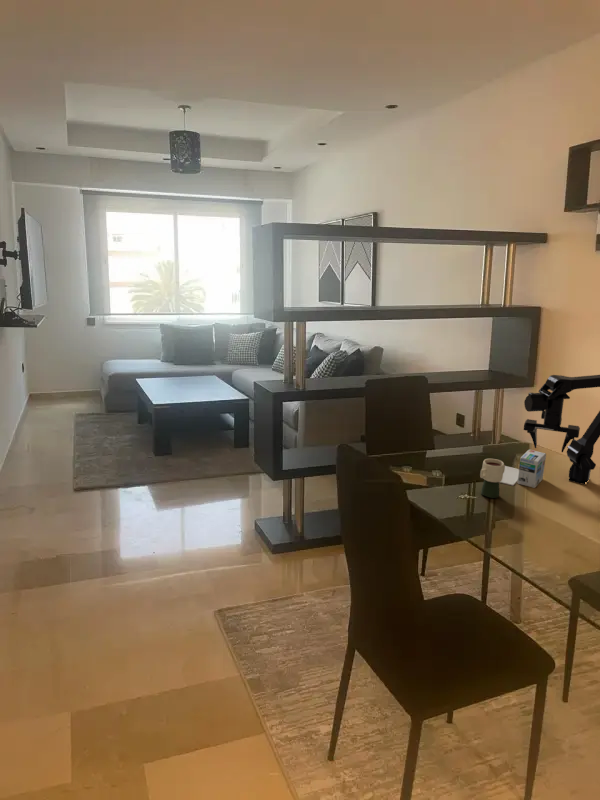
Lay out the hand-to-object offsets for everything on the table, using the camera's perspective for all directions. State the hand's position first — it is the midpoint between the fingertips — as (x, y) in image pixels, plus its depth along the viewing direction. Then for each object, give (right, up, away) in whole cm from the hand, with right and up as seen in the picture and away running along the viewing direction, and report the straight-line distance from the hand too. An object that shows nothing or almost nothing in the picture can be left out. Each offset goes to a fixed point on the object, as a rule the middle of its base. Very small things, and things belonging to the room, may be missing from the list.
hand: (548, 449), depth 223 cm
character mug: (-24, -16, -7) cm, 30 cm away
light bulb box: (-5, -13, +5) cm, 14 cm away
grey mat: (-13, -10, +10) cm, 20 cm away
